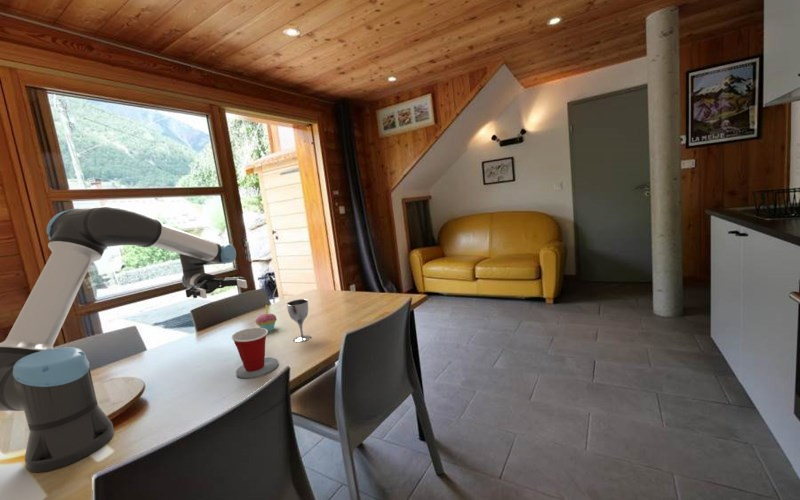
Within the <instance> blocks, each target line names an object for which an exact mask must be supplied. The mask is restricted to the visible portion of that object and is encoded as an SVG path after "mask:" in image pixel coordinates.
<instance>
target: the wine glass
mask: <svg viewBox="0 0 800 500" xmlns="http://www.w3.org/2000/svg"><path fill="white" fill-rule="evenodd" d="M286 308H287V312H288V315H289V317H290V319H291V320H292V321H294V322H295V323H297V325H298V327H299V330H300V336H299V335H298V336H297V337H295V338H294V339H293V342H294V343H304V342H306V341H305V340H307V339H309V338H310V337H311V336H312V335H311V336H310V335H309V334H304V331H303V324H304V322H305V321H306V318H307V317H308V316H309V300H308V299H306V298H300V299H299V298H298V299H293V300H290V301H289V302H287V303H286ZM303 341H304V342H303Z"/></svg>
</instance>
